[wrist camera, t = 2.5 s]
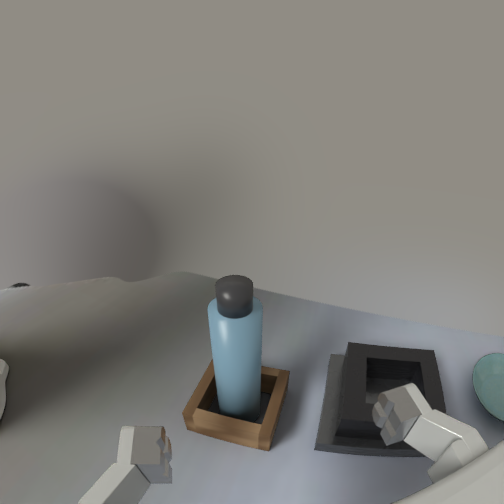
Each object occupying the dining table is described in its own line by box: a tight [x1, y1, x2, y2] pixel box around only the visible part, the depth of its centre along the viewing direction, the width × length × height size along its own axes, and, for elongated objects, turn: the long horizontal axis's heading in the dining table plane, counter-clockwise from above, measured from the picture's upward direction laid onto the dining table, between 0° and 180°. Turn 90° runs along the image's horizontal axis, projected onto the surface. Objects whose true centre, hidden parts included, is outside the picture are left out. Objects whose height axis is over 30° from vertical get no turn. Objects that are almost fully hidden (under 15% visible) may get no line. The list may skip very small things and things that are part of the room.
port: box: [314, 342, 446, 457], centre depth 26 cm, size 13×12×4 cm
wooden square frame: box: [182, 359, 290, 451], centre depth 27 cm, size 8×8×3 cm
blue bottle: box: [208, 275, 263, 422], centre depth 25 cm, size 4×4×15 cm
